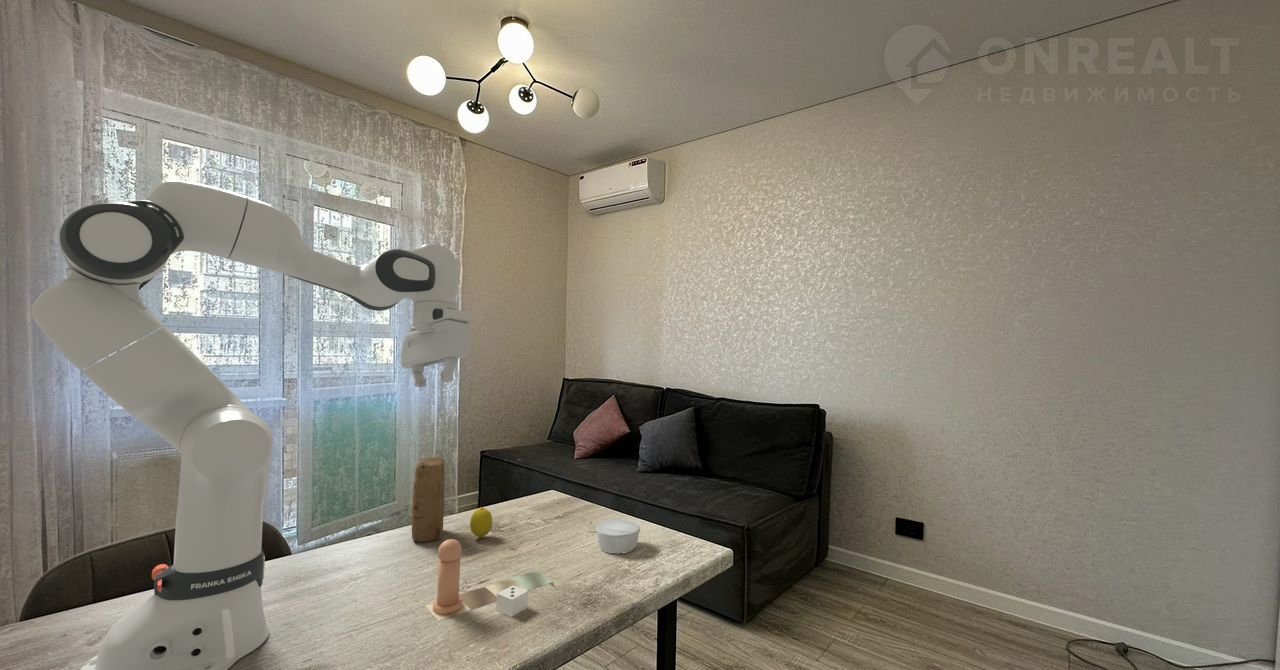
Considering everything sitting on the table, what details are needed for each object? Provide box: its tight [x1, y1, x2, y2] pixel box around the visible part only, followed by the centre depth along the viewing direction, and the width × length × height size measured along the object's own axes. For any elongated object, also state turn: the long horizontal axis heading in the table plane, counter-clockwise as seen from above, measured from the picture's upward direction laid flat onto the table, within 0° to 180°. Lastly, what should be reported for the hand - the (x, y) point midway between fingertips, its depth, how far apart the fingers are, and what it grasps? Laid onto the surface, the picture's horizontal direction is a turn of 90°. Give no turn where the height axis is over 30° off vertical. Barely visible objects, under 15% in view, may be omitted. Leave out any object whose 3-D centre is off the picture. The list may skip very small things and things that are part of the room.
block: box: [411, 457, 446, 543], centre depth 133 cm, size 11×8×20 cm
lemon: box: [469, 506, 493, 539], centre depth 132 cm, size 6×6×8 cm
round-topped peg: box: [432, 538, 463, 615], centre depth 95 cm, size 5×5×13 cm
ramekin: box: [595, 519, 641, 554], centre depth 128 cm, size 11×11×5 cm
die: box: [495, 586, 529, 618], centre depth 95 cm, size 4×4×4 cm
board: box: [424, 570, 554, 622], centre depth 101 cm, size 24×7×1 cm, turn 132°
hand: (433, 384), depth 104 cm, fingers open, 8 cm apart
